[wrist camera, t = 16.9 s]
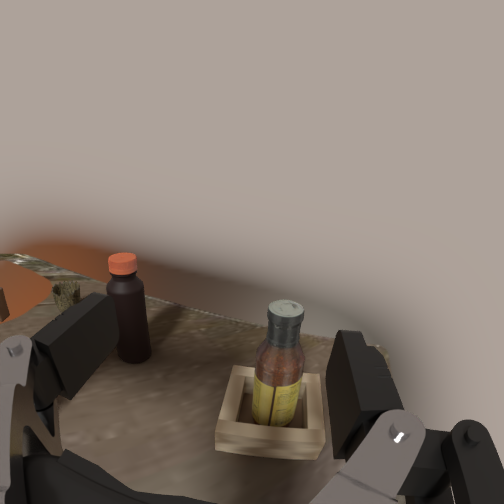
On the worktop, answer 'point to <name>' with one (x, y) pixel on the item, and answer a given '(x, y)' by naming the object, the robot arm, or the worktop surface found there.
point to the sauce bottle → (279, 366)
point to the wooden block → (3, 306)
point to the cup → (66, 294)
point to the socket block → (268, 437)
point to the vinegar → (129, 308)
